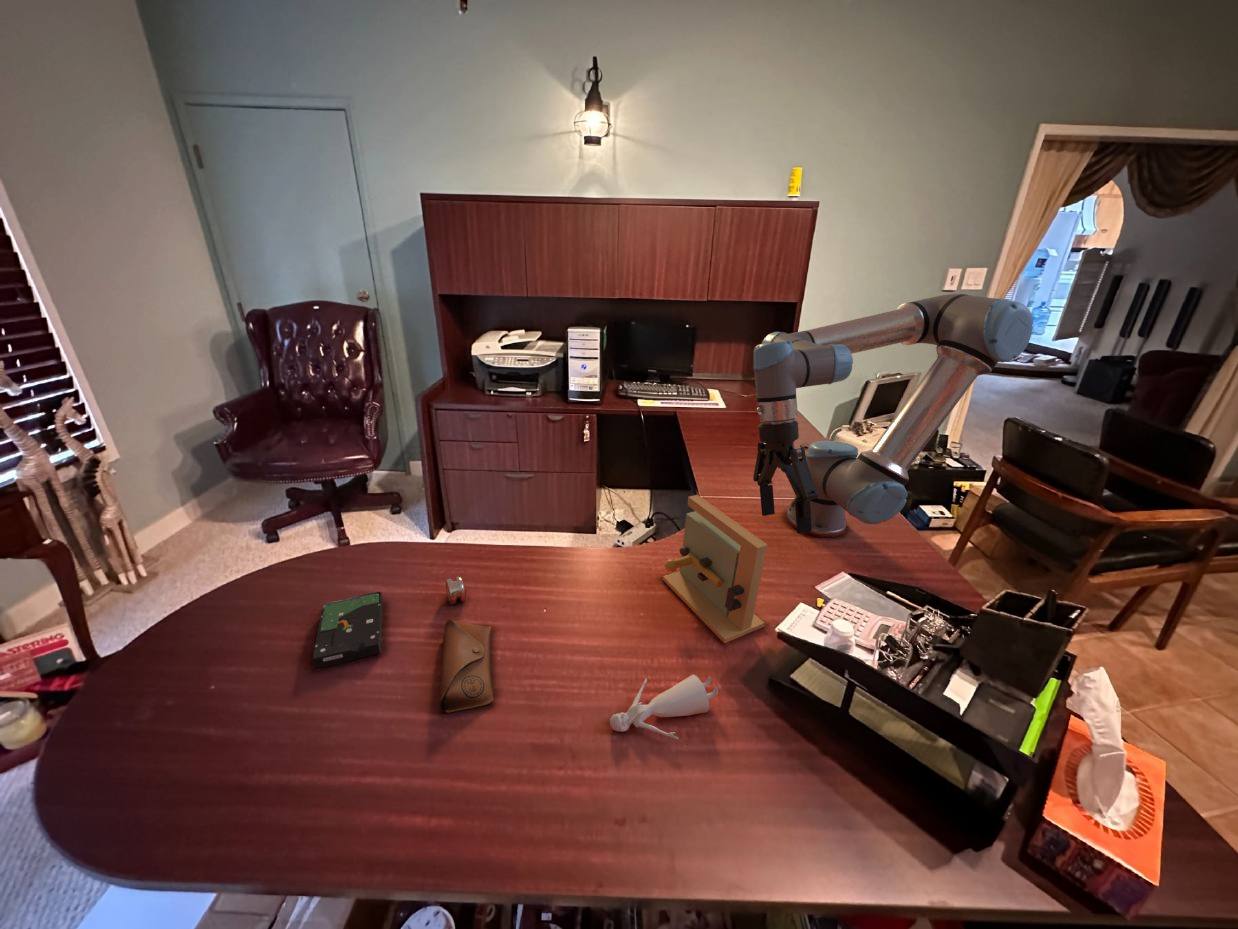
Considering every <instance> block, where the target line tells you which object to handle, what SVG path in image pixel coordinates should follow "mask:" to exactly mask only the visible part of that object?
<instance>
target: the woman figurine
mask: <svg viewBox="0 0 1238 929" xmlns="http://www.w3.org/2000/svg"><path fill="white" fill-rule="evenodd" d="M711 682H712V678H711V676H708V677H707V679H706V681H704V682H702V680H701V679H700V678H699V677H698V675H697V674H696V675H695V674H694V673H693V674H691V675H690V676H689V675H688V677H686V678H684V679H682V680H681V681H680V682H678V683H676V684H675V685H673V686H671V687H670V688H668V689H666V690H664V691H663V692H661V693H659V694H657V695H655V697H652V699H651V700H650V701H649V702H648V704H642V703H643V702H639V701H640V699H641V696H642V693H643V690H644V688H645V686H646V685H647V683H648V679H647V677H645V679H644V680H643V683H642V685H641V686H640V688H639V691H638V692H637V693H636V696H635V698H634V700H633V702H632V704H631V705H630V706H629V708H628V710H627V711H626V712H618V713H617V712H616V713H614V714H612V716H610V718H609V725H610V727H611V728H612V729H613V730H614V731H615V732H626V731H628V730H629V728H630V727H631V725H633V726H635V728H637V729H638V728H642V729H646V730H650V731H651V732H654V733H657V734H661V735H663V736H666V737H668V738H671V739H672V740H679V736H676V735H674V734H676V732H674V731H673V732H672V731H671V732H666V731H664V730H661V729H659V728H658V727H656V726H654V725H652V724H649V723H646V722H645V721H646V720H647V719H648V718H649V717H651V716H655V717H658V718H672V717H683V716H691V715H699V714H704V713H708V712H709V710H710V708H711V707H710V700H711V699H713V698H714V697H716V696H718V695H719V688H718V686H715V687H714V689H713V690H712V691H711V692H709V693H708V692H707V689H706V687H707V686H709V685H711Z"/></svg>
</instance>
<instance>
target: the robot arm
mask: <svg viewBox="0 0 1238 929" xmlns="http://www.w3.org/2000/svg"><path fill="white" fill-rule="evenodd" d="M1033 324H1034V319H1033V315H1032V312H1031V310H1030V309H1029V308H1028V307H1027V306H1026V305H1025V304H1024V303H1021V302H1018V301H1015V300H1009V299H1007V298H995V297H988V296H979V295H972V294H971V295H970V294H965V293H950V294H942V295H937V296H932V297H927V298H922V299H918V300H914V301H910V302H905V303H902V304H900V305H899V306H898V307H897V308H895V309H894V310H890V311H885V312H881V313H877V314H876V313H875V314H872V315H868V316H864V317H859V318H854V319H850V320H846V321H841V322H838V323H832V324H828V325H824V326H820V327H814V328H811V329H806V330H801V331H796V332H791V333H787V332H784V331H773V332H771V333H769V334H767V335H766V336H765V337H764V339H763V340H762V341H761V344H757V345H756V346H755V347H754V349H753V368H752V370H753V372H754V385H755V394H756V396H755V397H756V405H757V408H756V412H757V420H758V421H759V422H760V424H759V425H758V435H759V441H760V442H758V443H757V455H756V460H755V465H754V471H753V476H752V480H753V482H756V483H757V486H758V487H759V496H760V497H759V498H760V508H761V516H762V517H766V516H772V515H775V500H774V498H775V497H774V486H773V481H772V480H773V478H774V476H775V473H776V470H777V469H780V470H781V472H782V473H784V474H785V476H786V478H787V481H788V482H789V485H790V486H791V489H792V490H793V492H794V495H795V497H794V498H793V500H792V501H791V503H790V505H789V506H788V508H787V510H786V514H785V519H786V521H787V523H788V524H789V525H790V526H791V527H792V528H794V529H795V530H796V533H797V534H799V535H801V534H806V535H809V536H814V537H818V538H835V537H836V538H837V537H839V536H842V535H843V534H844V533H845V532H846V528H847V524H848V522H847V518H846V517H847V516H846V512H847V514H848V515H849V516H851V517H853V518H855V519H857V520H858V521H859V522H861V523H864V524H867V525H878V524H882V523H885V522H888V521H890V520H891V519H893V518H894V517H896V516H897V515H898V514H899V513H900V512H902V510H903V508H904V507H905V505H906V503H907V499H906V498H908V491H907V489H906V488H905V486H906V485H907V483H908V482H909V480H910V477H909V473H908V470H909V468H910V467H911V465H912V464H913V463H914V462H915V460H916V459H917V457H918V456H919V455H920V454H921V452H922V451H923V450H924V448H925V447H926V446H927V445H928V443H929V442H930V440H931V439H932V437H933V436H934V435H935V434H936V432H937V431H938V429H939V428H940V427H941V426H942V424H943V423H944V421H945V420H946V419H947V418H948V416H949V415H950V414H951V412H952V411H953V409H954V408H955V407H956V405H957V404H958V402H959V401H961V399H962V397H963V396H964V395H965V394H966V392H967V391H968V390H969V388H971V386H972V384H973V383H974V382H975V380H976V379H977V378H978V377H979V376H982V375H986V374H990V373H991V372H992V371H993V370H994V369H995V367H996V366H997V365H998V363H1006V362H1007V363H1008V362H1011V361H1013V360H1015V359H1016V358H1018V357H1019V356H1020V355H1021V354H1022V353H1023V352H1024V351H1025V350H1026V348H1027V346H1028V344H1029V343H1030V340H1031V338H1032V334H1033V330H1034V327H1033ZM896 344H902V345H904V346H911V345H915V344H928V345H934V346H936V347H935V351H936V356H937V357H936V360H934V362H933V363H932V365H931V366H930V368H929V369H928V370H927V372H926V373H925V375H924V376H923V377H922V379H921V380H920V382H919V383H918V385H916V387H915V389H914V390H913V391H912V393H911V394H910V395H909V397H908V399H907V400H906V401H905V402H904V404H903V405H902V407H901V408H900V409H899V410H898V413H896V415H895V416H894V418H893V419H892V421H891V422H890V423H889V425H888V426H887V428H886V429H885V430H884V432H883V433H882V434H881V436H880V437H879V439H878V440H877V441H876V443H875V444H874V445H873V447H872V448H871V449H869V450H865V451H861V452H860V453H859V449H858V447H857V446H855V445H854V444H851V443H848V442H844V441H836V440H818V441H813V442H812V443H811V444H810V445H809V446H808V448H807V452H806V449H805V448H804V447H798V448H796V447H795V444H794V442H795V441H797V440H798V439H799V438H800V432H799V422H798V421H797V420H796V419H797V418H798V417H799V414H798V413H799V412H798V401H797V389H799V388H800V389H802V388H807V387H808V388H809V387H815V386H816V387H817V386H823V385H832V384H834V383H839V382H843V381H845V380H846V379H848V378H849V376H850V375H851V374H852V370H853V364H854V358H853V355H854V354H858V353H862V352H866V351H870V350H875V349H880V348H884V347H888V346H892V345H896Z"/></svg>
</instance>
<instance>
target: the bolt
mask: <svg viewBox="0 0 1238 929" xmlns="http://www.w3.org/2000/svg"><path fill="white" fill-rule="evenodd" d="M699 562H700V560H699V559H698V558H696V557H695V556H694V555H693V554H692V553H689V554H688V555H687V556H685V557H682V558H681V557H678V558H676V559H673V558H669V559H666V561H665V563H664V569H665V570H666V571H667V572H669V573H675V571H677V569H680V567H683V566H686V565H689V564H691V563H692V564H693V565H694V566H695V567H696V568H697V569H698V570H699V571H700V572H702V573H703V574H704V575H705V576H706V577H707V578H708V579H709V580H710V581H711V582H713V583H714V584H715V585H716V586H717V587H720V586H721V585H722V584H723V580H721V579H720V578H719V577H718V576H717V575H716V574H715V573H713V572H712V571H711V570H710V569H709V568H708V567H705V568H704V567H703V566H702V565H701V564H699Z"/></svg>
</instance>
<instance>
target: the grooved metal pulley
mask: <svg viewBox="0 0 1238 929" xmlns="http://www.w3.org/2000/svg"><path fill="white" fill-rule="evenodd" d="M454 579H455V580H453V579H452V578H451V577H450V578H446V579H445V589H446V595H447V598H448V601H449V604H450V605H454V604H456V603H457V600H458V599H459V602H464V601H465V600H466V598H467V593H466V587H465V583H464V580H463V577H462V576H459V575H457V576H455V578H454Z"/></svg>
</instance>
